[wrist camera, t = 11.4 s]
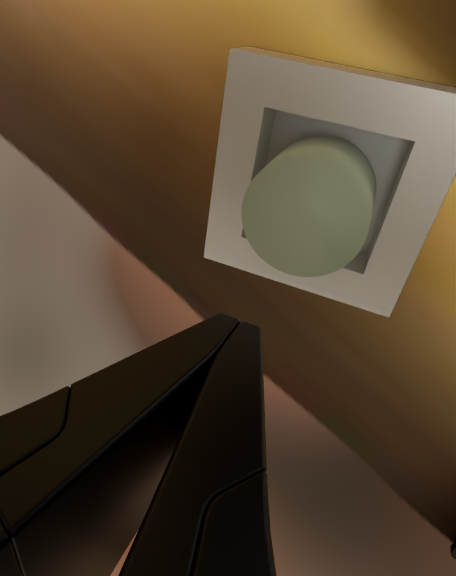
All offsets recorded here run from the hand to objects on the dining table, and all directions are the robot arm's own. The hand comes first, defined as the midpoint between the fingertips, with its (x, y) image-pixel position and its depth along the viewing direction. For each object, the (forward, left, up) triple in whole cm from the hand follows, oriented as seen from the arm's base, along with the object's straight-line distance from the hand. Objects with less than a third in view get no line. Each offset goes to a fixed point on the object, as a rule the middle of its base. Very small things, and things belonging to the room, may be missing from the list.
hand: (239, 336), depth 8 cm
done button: (0, 0, -9) cm, 9 cm away
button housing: (0, 0, -11) cm, 11 cm away
